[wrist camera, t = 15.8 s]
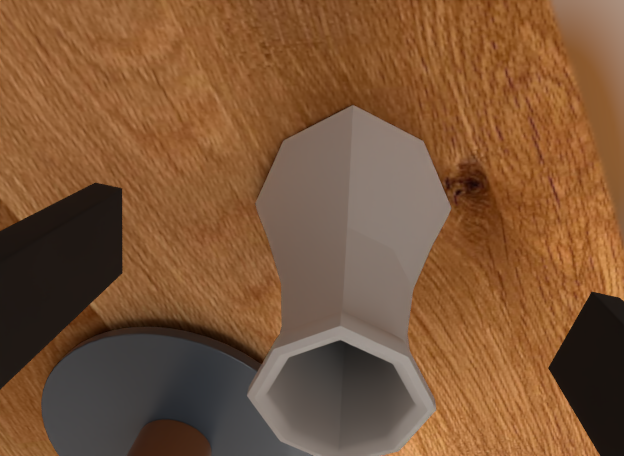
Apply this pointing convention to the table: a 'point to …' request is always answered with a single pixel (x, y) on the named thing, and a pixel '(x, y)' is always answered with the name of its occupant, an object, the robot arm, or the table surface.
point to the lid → (156, 398)
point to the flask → (347, 285)
